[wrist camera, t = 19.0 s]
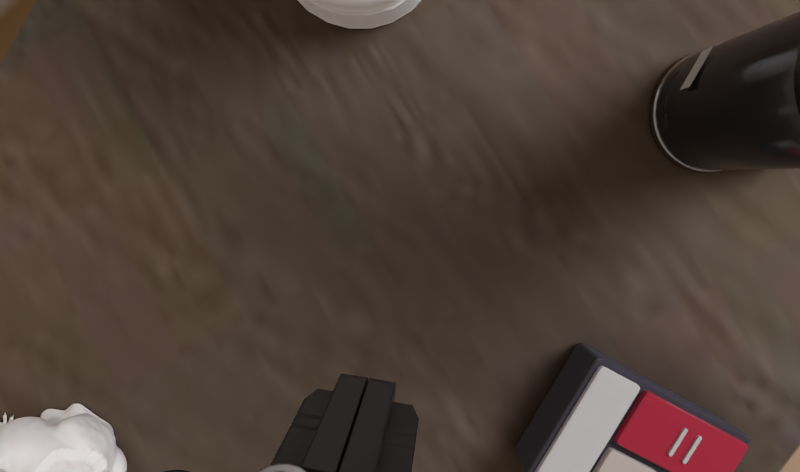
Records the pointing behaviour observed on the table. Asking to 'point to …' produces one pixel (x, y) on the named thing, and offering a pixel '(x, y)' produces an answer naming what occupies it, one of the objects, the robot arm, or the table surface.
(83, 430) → the white lumpy figure
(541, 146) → the table surface
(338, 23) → the honey pot
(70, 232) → the table surface
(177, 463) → the table surface
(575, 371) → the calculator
